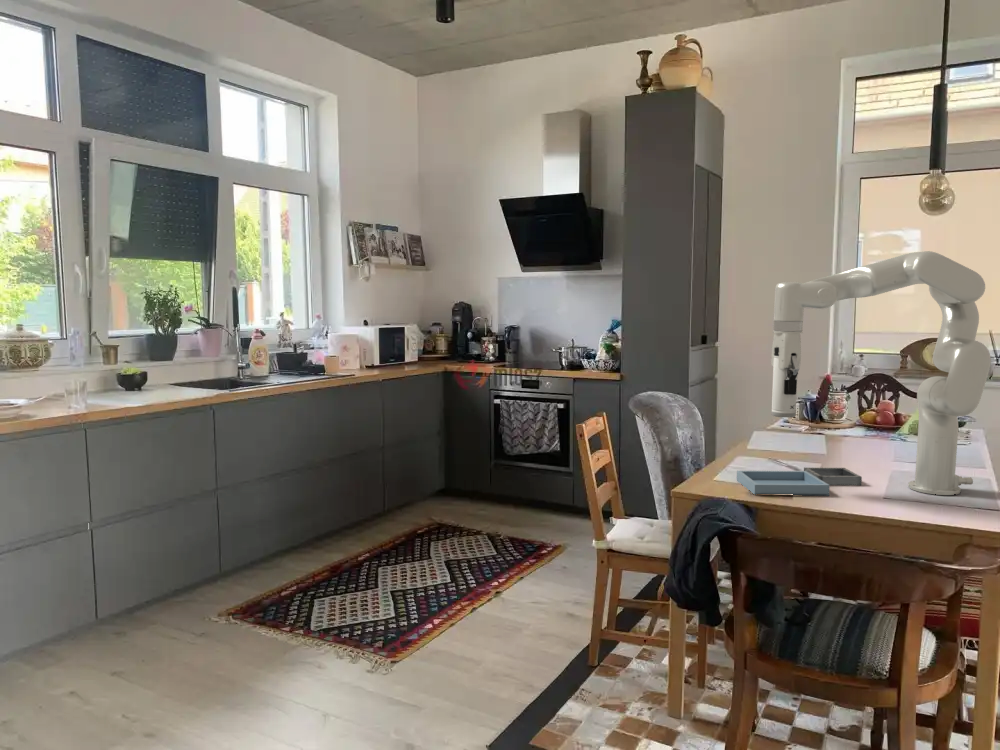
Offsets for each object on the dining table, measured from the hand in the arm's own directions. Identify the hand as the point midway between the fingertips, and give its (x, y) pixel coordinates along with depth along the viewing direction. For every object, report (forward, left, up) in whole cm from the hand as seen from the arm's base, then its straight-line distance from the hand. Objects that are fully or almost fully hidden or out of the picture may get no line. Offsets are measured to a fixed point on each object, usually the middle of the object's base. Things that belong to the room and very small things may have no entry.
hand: (785, 392), depth 206 cm
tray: (0, 0, -27) cm, 27 cm away
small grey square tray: (-18, -9, -27) cm, 34 cm away
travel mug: (0, 0, -7) cm, 7 cm away
